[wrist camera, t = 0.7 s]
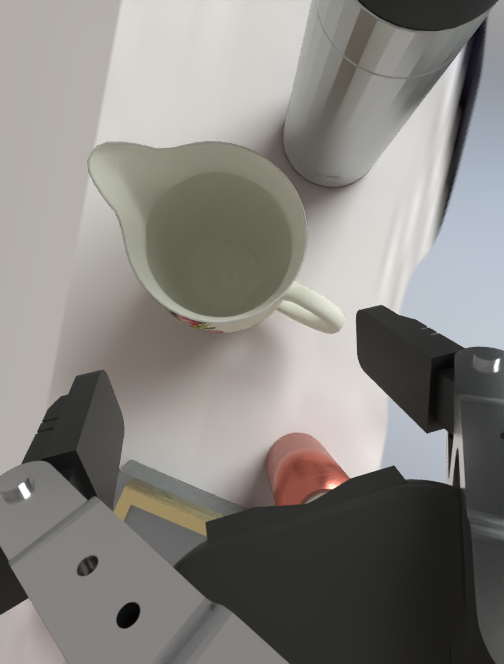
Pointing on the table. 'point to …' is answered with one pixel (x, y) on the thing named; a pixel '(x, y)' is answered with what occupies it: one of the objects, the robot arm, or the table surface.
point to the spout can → (301, 470)
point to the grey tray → (166, 510)
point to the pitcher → (212, 233)
